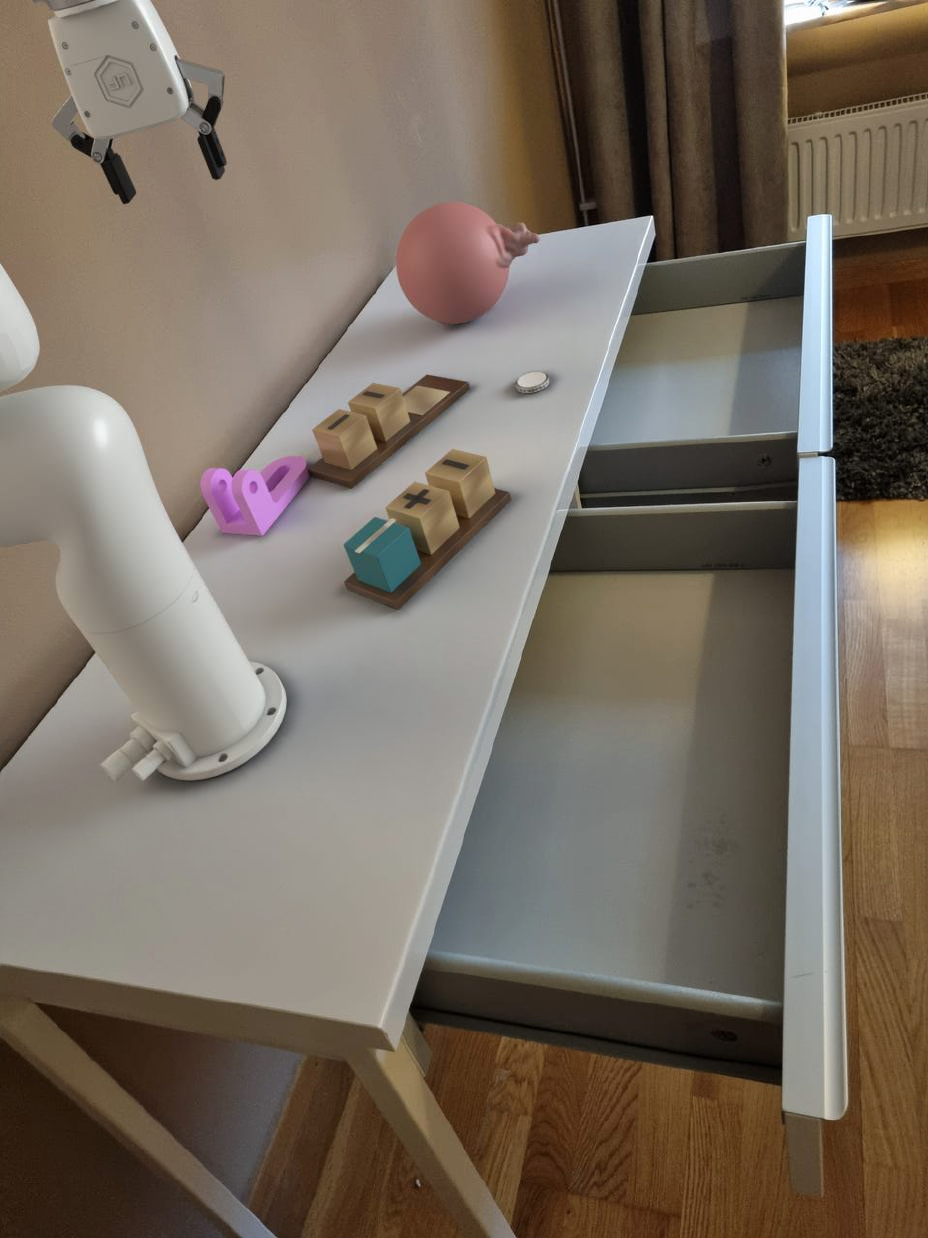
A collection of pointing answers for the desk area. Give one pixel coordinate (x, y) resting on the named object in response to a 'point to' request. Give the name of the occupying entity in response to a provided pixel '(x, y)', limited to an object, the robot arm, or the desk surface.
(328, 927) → the desk surface
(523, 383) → the white flat disc
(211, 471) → the bracket
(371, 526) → the striped teal cube
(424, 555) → the wooden board with cubes
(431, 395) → the far word
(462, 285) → the balloon
